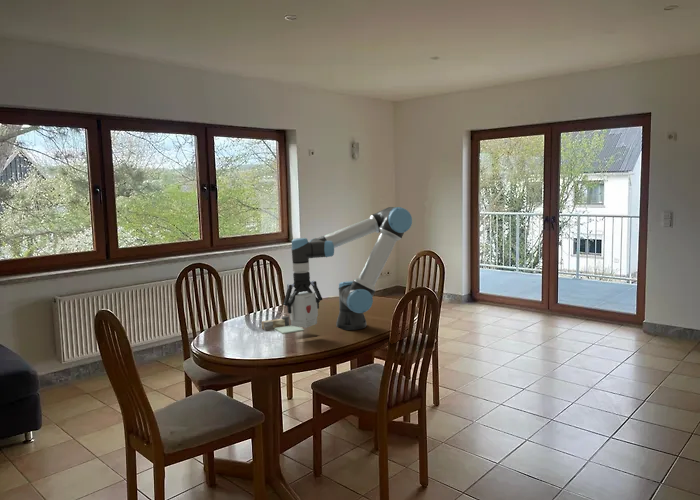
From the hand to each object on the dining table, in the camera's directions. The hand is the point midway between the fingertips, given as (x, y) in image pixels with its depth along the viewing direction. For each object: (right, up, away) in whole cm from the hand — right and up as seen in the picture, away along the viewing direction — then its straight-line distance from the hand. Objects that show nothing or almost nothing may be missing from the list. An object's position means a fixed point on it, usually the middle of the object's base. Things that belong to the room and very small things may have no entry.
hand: (304, 317), depth 253 cm
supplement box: (0, -4, 0) cm, 4 cm away
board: (-16, -8, +16) cm, 24 cm away
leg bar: (-15, -7, +17) cm, 24 cm away
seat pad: (-8, -7, +11) cm, 16 cm away
